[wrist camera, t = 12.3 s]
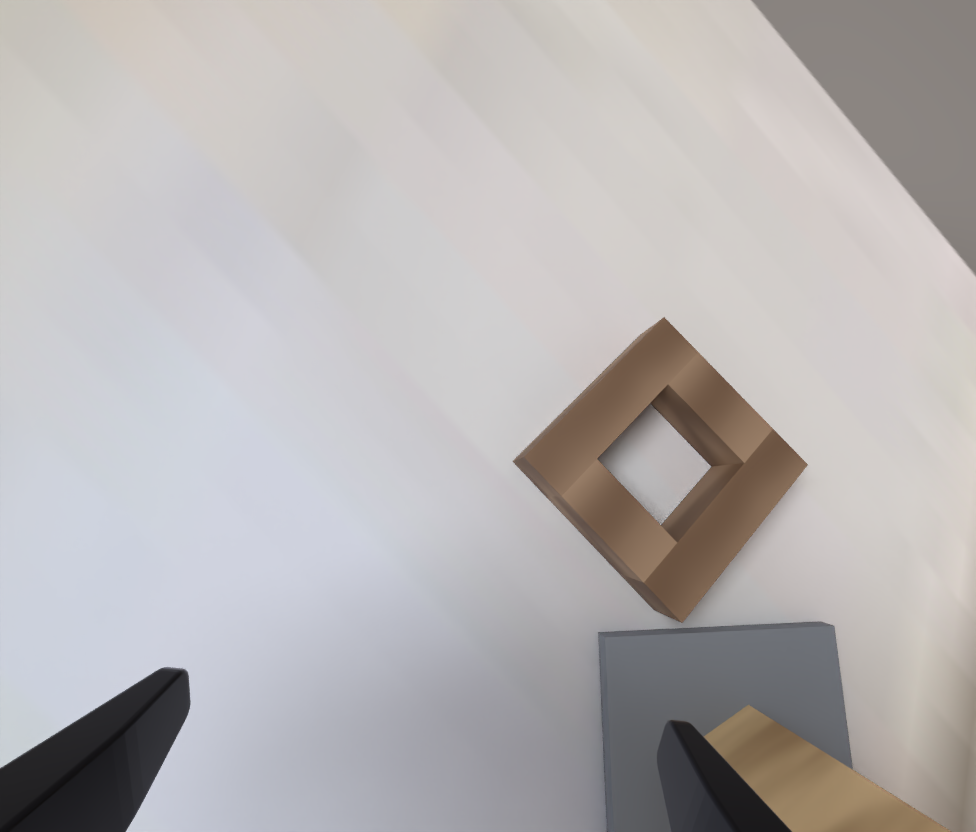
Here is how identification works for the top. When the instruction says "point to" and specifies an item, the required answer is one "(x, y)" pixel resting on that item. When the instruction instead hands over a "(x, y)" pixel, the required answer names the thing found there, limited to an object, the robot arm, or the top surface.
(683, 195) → the top surface
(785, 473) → the walnut socket block
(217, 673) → the top surface
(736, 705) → the slate mat
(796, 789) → the oak peg
